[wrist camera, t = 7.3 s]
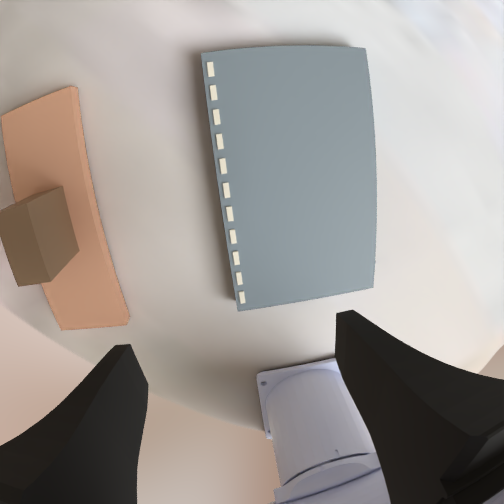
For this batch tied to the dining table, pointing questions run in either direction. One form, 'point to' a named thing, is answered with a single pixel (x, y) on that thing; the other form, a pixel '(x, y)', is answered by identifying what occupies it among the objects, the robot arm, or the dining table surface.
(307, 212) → the board
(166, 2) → the dining table surface
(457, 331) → the dining table surface
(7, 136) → the stub
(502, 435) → the robot arm
